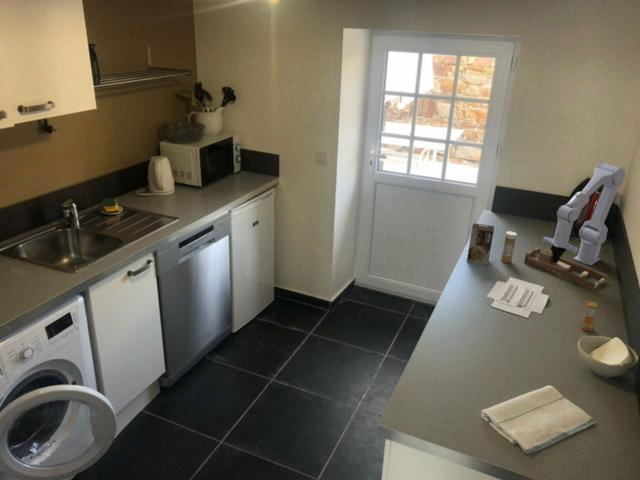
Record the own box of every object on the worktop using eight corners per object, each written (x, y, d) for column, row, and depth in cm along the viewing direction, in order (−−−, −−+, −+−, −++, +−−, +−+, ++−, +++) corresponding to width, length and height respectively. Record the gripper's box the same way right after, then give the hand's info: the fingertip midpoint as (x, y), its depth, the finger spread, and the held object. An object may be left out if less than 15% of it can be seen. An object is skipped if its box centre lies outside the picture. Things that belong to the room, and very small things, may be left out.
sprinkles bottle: (513, 261, 234) (519, 233, 229) (506, 264, 232) (512, 236, 226) (505, 257, 238) (510, 230, 232) (498, 259, 235) (503, 232, 230)
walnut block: (543, 257, 235) (545, 249, 233) (554, 261, 232) (556, 253, 230) (537, 260, 232) (539, 252, 230) (548, 264, 228) (550, 256, 227)
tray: (481, 305, 201) (482, 297, 199) (500, 278, 223) (502, 270, 222) (537, 323, 191) (539, 314, 190) (551, 293, 213) (554, 285, 212)
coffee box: (488, 259, 235) (495, 225, 229) (487, 265, 230) (494, 231, 223) (467, 255, 238) (473, 222, 231) (466, 261, 232) (471, 227, 226)
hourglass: (581, 324, 190) (588, 300, 186) (591, 327, 189) (598, 303, 185) (580, 329, 188) (587, 305, 183) (591, 332, 186) (598, 307, 182)
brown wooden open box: (536, 255, 241) (538, 246, 239) (604, 281, 220) (607, 272, 219) (524, 262, 234) (526, 253, 232) (592, 290, 214) (595, 280, 212)
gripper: (541, 229, 225) (535, 258, 231) (575, 241, 216) (567, 271, 221) (549, 226, 230) (543, 254, 235) (583, 237, 220) (575, 266, 226)
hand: (555, 262), depth 229 cm, fingers closed
